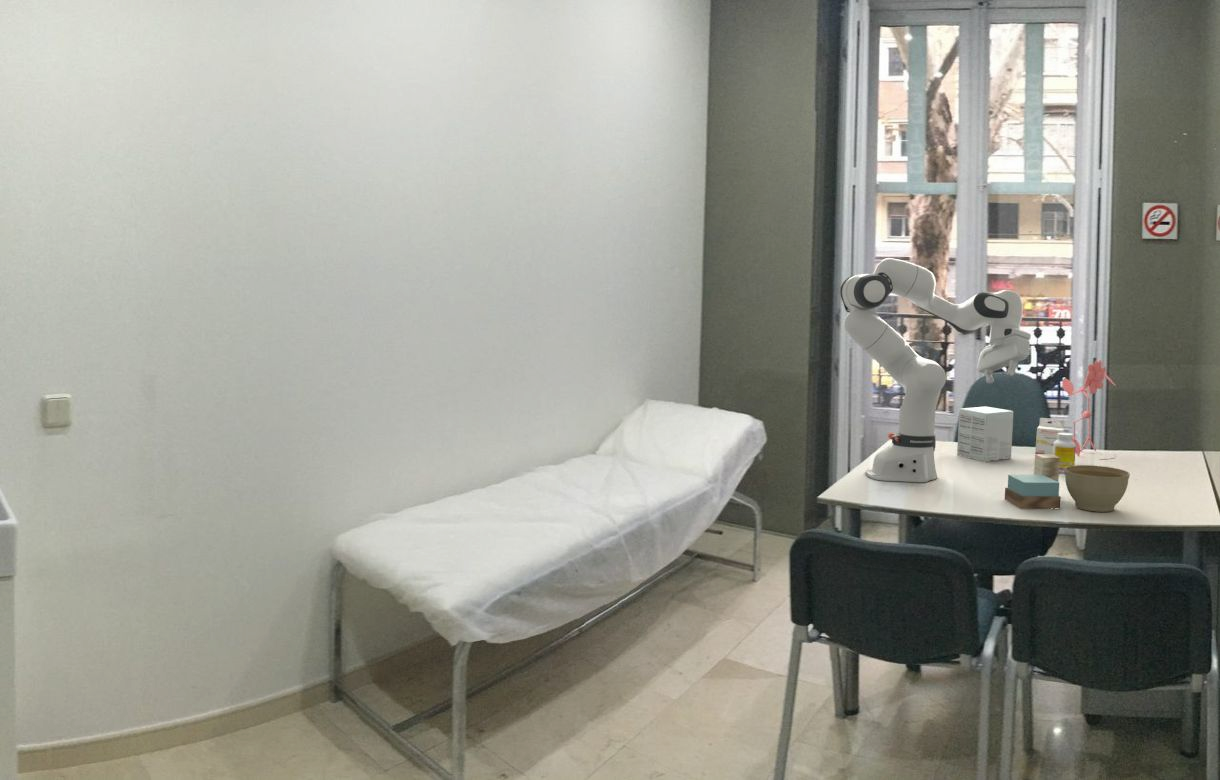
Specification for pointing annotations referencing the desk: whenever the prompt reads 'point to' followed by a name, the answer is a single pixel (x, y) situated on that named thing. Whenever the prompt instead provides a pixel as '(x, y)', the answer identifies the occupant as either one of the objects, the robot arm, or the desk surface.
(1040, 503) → the walnut base block
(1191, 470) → the desk surface
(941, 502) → the desk surface
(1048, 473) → the ash pillar block
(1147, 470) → the desk surface
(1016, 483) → the teal top block
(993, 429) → the supplement box
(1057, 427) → the ink cartridge box
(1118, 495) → the planter bowl
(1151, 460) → the desk surface
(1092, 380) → the pink flower sculpture
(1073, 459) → the supplement bottle
